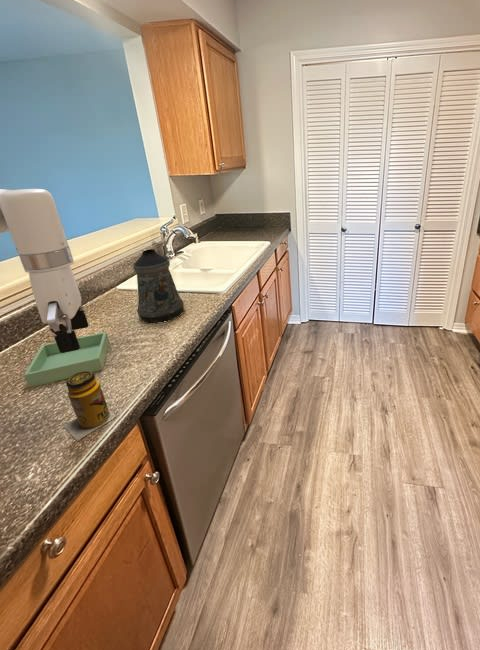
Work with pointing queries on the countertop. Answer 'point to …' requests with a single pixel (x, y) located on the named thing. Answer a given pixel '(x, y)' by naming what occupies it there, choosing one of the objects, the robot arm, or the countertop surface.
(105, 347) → the tray
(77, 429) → the condiment
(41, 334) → the countertop surface
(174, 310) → the beer stein
